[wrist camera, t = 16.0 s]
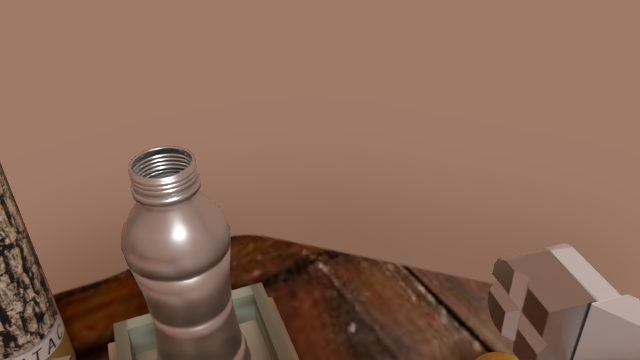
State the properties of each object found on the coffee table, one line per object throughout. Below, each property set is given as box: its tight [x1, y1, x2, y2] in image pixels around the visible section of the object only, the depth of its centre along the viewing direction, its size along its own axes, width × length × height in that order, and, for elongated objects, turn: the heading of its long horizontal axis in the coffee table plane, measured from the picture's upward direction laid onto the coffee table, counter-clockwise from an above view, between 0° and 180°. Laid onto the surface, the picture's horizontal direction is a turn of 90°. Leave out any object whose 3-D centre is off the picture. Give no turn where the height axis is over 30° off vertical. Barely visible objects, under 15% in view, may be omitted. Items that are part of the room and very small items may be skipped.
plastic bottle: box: [121, 146, 251, 360], centre depth 39 cm, size 6×7×20 cm
